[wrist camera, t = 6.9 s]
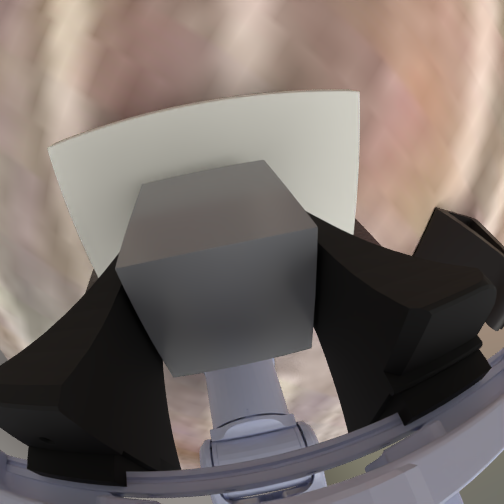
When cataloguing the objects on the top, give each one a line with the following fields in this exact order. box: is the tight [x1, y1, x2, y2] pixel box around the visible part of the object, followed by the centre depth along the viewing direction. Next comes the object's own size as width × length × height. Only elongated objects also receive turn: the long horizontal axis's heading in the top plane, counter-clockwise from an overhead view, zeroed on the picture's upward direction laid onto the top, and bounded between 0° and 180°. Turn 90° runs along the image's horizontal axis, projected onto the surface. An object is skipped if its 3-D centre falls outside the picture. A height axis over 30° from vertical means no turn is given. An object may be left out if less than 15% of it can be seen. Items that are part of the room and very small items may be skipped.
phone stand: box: [413, 207, 504, 331], centre depth 22 cm, size 9×6×12 cm, turn 77°
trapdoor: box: [47, 89, 360, 278], centre depth 16 cm, size 15×14×4 cm
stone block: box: [115, 160, 318, 377], centre depth 9 cm, size 4×4×5 cm
